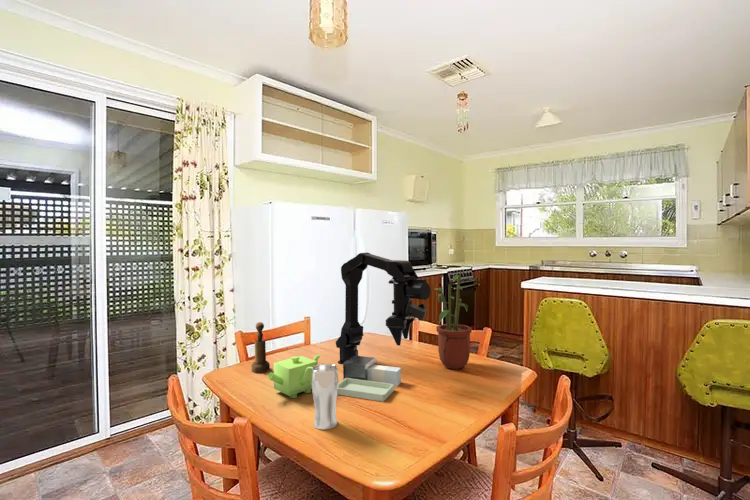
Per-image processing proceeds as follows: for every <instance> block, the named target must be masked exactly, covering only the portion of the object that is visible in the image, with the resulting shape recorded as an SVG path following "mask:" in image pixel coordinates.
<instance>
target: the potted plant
mask: <svg viewBox="0 0 750 500" xmlns="http://www.w3.org/2000/svg"><path fill="white" fill-rule="evenodd" d="M455 280H456V281H457V283H456V297H455V296H452V284H451V283H448V284H447V285H448V287H447V290H448V292H447V295H448V297H447V298H448V301H446V298H445V294H444V292H443V291H444V288H440V287H437V288H434V290H437V291H440V293H438V294H437V296H438V297H437V299H438V301H437V302H438V303H442V304H443V307H444V308H443V309H444V310H443V311H441V312H440V313H439V320H438V325H436V329H435V330H436V332H437V342H438V343H437V346H438V347H437V349H438V356H439V360H440V362H441V363H442V366H444V367H446V368H447V369H449V370H460V369H462V368H464V367H465V366H467V364H468V362H469V360H470V356H471V355H470V353H471V333H472V330H473V329H472V327H471V326H468V325H466V324H459V318H460V317H459V316H460V309H461V307H464V308H465V310H466V311H465V312H468V309H469V306H468V304H466V303H465V302H464V303H463V302H462V301H463V300H462V299H461V298H460V290H461V291H463V286H461V275H459V274H456V275H453V277H452V282H455ZM465 288H467V287H466V286H465ZM455 298H456V299H455ZM454 299H455V301H456V302H455V309H454V314H452V300H454ZM447 304H448V306H447ZM452 317H453V323H452ZM444 318H445V322H446V324H445V323H444V324H440V323H441V321H442V320H443V319H444Z"/></svg>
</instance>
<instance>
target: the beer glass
mask: <svg viewBox="0 0 750 500" xmlns="http://www.w3.org/2000/svg"><path fill="white" fill-rule="evenodd" d="M338 383H339V373H338V366H337V365H336V364H333V363H321V364H318V365H316V366H314V367H313V368H312V389H311V391H312V392H311V393H312V400H313V405H314V420H313V426H314V428H315V429H317V430H321V431H324V430H325V431H326V430H327V431H328V430H331V429H333V428H335V427H336V426H337V425H338V419H337V414H336V409H337V408H336V406H337V400H338V395H337V394H338Z"/></svg>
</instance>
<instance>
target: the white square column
mask: <svg viewBox="0 0 750 500" xmlns="http://www.w3.org/2000/svg"><path fill="white" fill-rule="evenodd" d="M367 381H374V382H381V383H389V384H394V388H395V387H396V388H397V387H399V385H400V384H401V383H402V368H401V367H396V366H390V365H389V366H388V365H387V366H386V365H381V364H380V365H378V364H375V365H371V366H370V367H369V368H367Z"/></svg>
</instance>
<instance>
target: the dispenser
mask: <svg viewBox="0 0 750 500" xmlns="http://www.w3.org/2000/svg"><path fill="white" fill-rule="evenodd" d="M376 362H377V357H372V356H364V355H363V356H362V355H358V356H353V357H351V358H350V359H348V360H347V361H345V362H344V363H342V370H343V371H342V373H343V374H342V375H343V376H342V377H343V378H342V380H344V379H345V378H352V379H359V380H366V381H367V368H369V367H370V366H371V365H376Z"/></svg>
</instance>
